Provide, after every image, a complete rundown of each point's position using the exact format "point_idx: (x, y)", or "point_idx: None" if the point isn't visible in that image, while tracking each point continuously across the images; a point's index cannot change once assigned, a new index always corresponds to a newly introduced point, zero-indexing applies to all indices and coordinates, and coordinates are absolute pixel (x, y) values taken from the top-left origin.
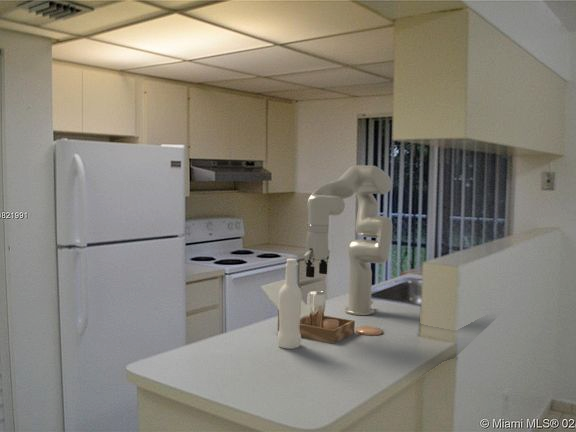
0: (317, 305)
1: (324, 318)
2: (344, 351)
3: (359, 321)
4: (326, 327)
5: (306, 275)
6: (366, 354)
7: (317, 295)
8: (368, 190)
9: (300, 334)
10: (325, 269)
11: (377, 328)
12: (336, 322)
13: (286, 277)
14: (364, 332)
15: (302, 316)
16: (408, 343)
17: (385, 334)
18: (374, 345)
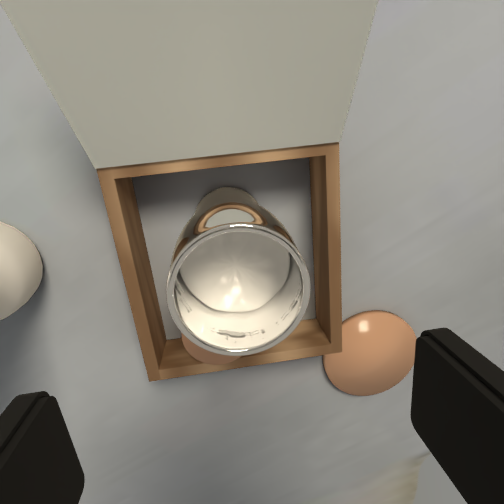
0: (192, 304)
1: (323, 216)
2: (119, 414)
3: (482, 255)
4: None
5: (14, 409)
6: (148, 463)
7: (189, 335)
8: None
9: (2, 317)
10: (452, 476)
11: (403, 366)
12: (212, 363)
13: None
14: (329, 364)
15: (227, 150)
16: (326, 477)
17: (372, 398)
18: (241, 435)
